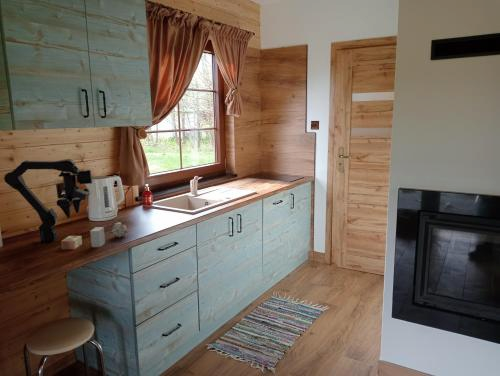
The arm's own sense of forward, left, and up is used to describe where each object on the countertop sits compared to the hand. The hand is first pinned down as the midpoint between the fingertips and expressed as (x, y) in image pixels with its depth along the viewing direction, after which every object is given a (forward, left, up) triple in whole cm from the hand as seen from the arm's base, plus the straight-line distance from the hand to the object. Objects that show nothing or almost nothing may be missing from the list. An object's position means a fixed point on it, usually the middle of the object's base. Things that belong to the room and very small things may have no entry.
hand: (73, 215), depth 206 cm
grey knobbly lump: (+22, +2, -12) cm, 25 cm away
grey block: (+16, -10, -12) cm, 22 cm away
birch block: (+4, -16, -10) cm, 19 cm away
